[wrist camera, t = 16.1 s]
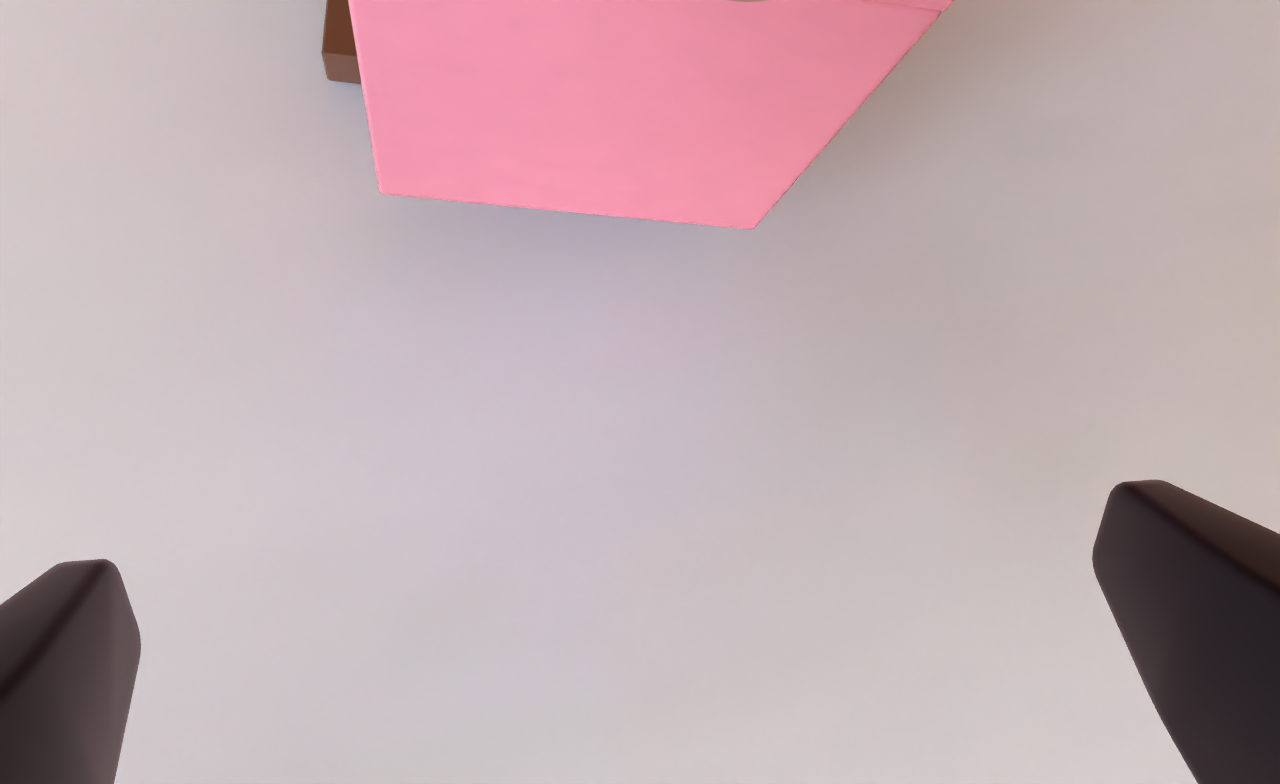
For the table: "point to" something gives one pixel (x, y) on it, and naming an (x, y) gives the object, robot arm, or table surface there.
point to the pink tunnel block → (619, 98)
